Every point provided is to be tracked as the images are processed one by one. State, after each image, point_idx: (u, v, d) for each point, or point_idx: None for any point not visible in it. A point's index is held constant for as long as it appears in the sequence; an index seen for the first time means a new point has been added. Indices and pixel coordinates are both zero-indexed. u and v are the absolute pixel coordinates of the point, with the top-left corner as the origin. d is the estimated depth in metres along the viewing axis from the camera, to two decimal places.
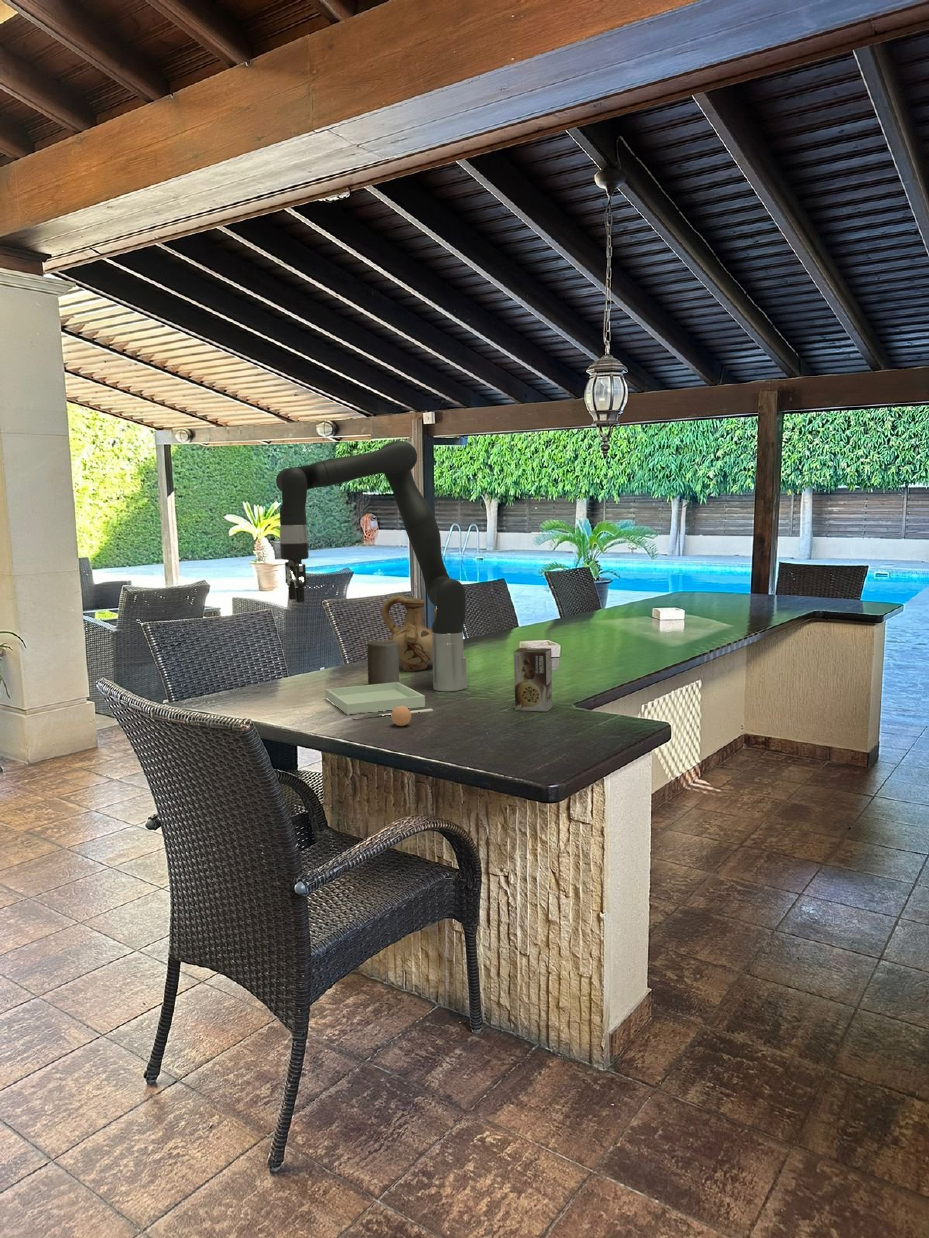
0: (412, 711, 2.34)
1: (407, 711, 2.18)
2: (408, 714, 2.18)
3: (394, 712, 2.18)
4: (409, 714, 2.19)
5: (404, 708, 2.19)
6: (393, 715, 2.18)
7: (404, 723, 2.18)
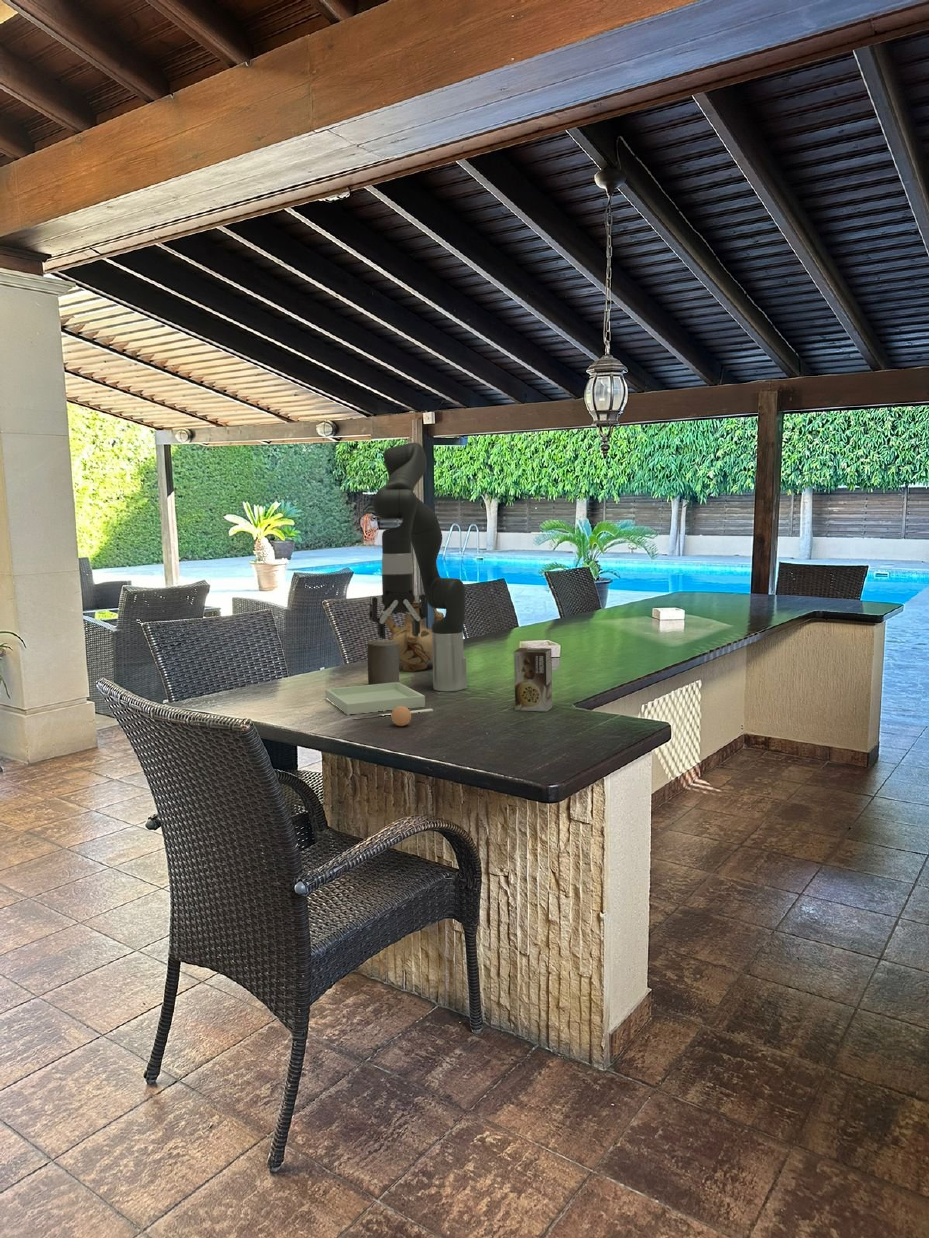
0: (412, 711, 2.34)
1: (407, 711, 2.18)
2: (408, 714, 2.18)
3: (394, 712, 2.18)
4: (409, 714, 2.19)
5: (404, 708, 2.19)
6: (393, 715, 2.18)
7: (404, 723, 2.18)
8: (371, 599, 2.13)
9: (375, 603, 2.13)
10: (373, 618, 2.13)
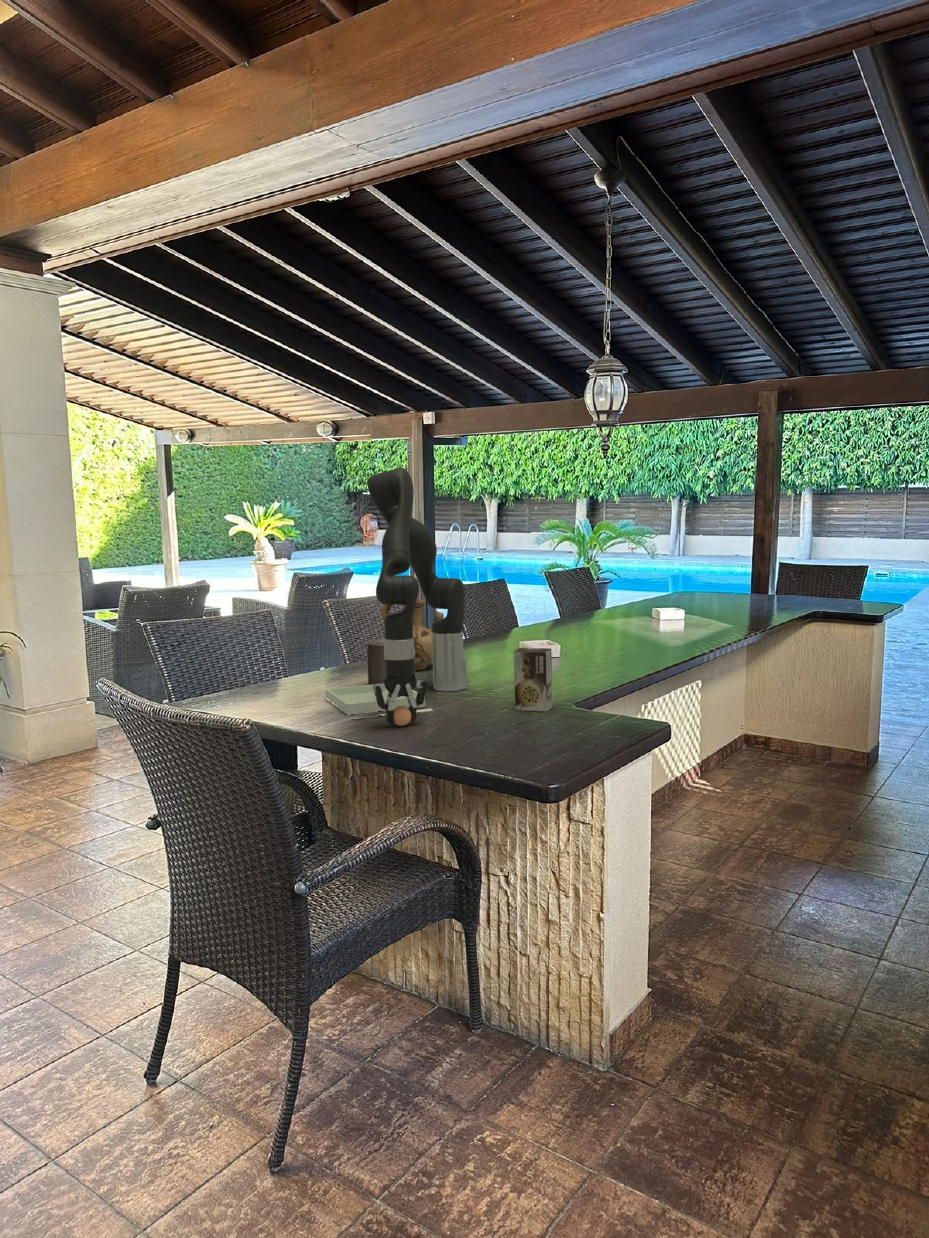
0: None
1: (407, 711, 2.18)
2: (408, 714, 2.18)
3: (394, 712, 2.18)
4: (409, 714, 2.19)
5: (404, 708, 2.19)
6: (393, 715, 2.18)
7: (404, 723, 2.18)
8: (374, 688, 2.16)
9: (379, 691, 2.15)
10: (381, 706, 2.16)
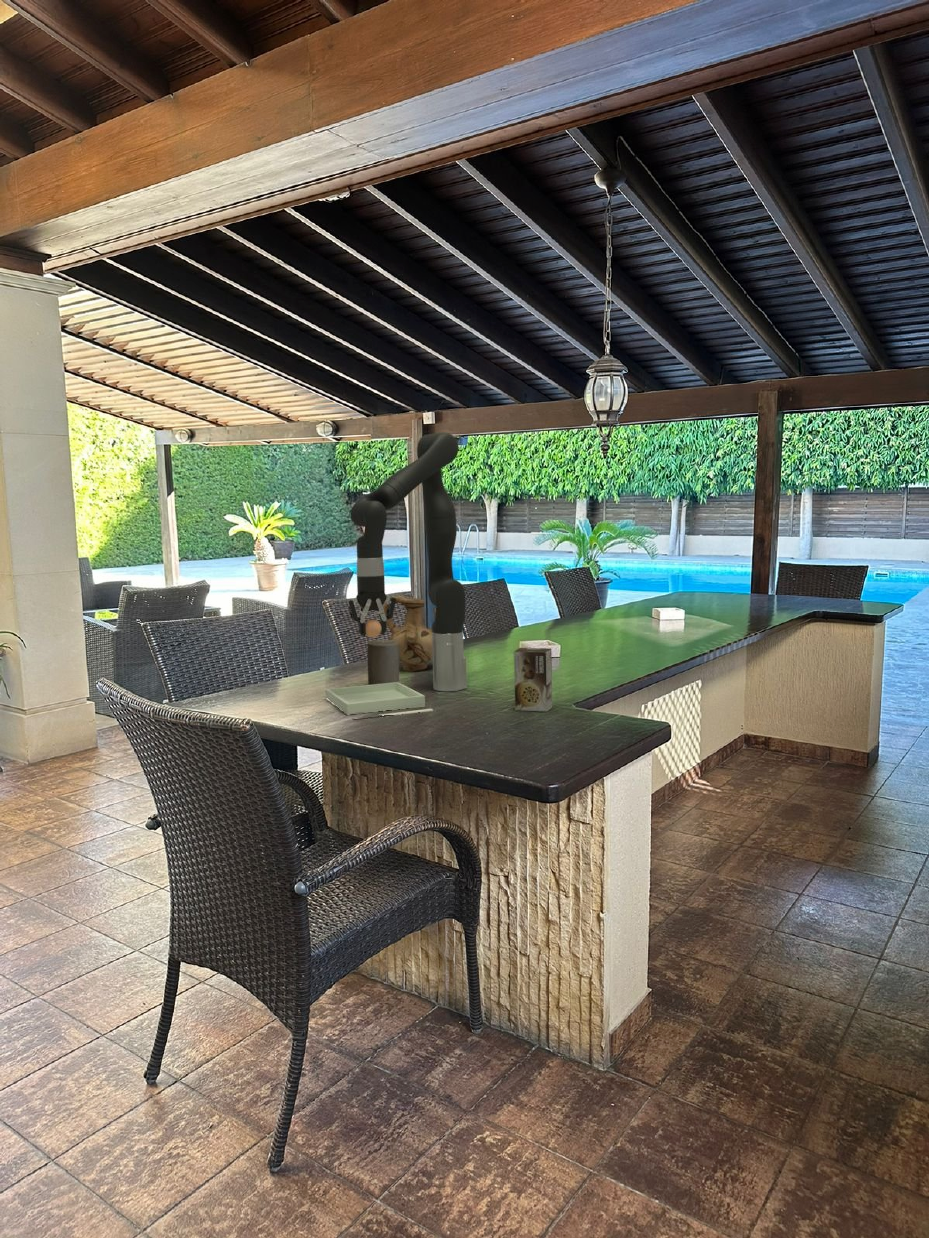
0: (412, 711, 2.34)
1: (378, 624, 2.42)
2: (379, 626, 2.42)
3: (366, 624, 2.42)
4: (379, 626, 2.43)
5: (375, 621, 2.42)
6: (365, 627, 2.42)
7: (375, 634, 2.42)
8: (348, 602, 2.40)
9: (352, 605, 2.39)
10: (354, 618, 2.40)
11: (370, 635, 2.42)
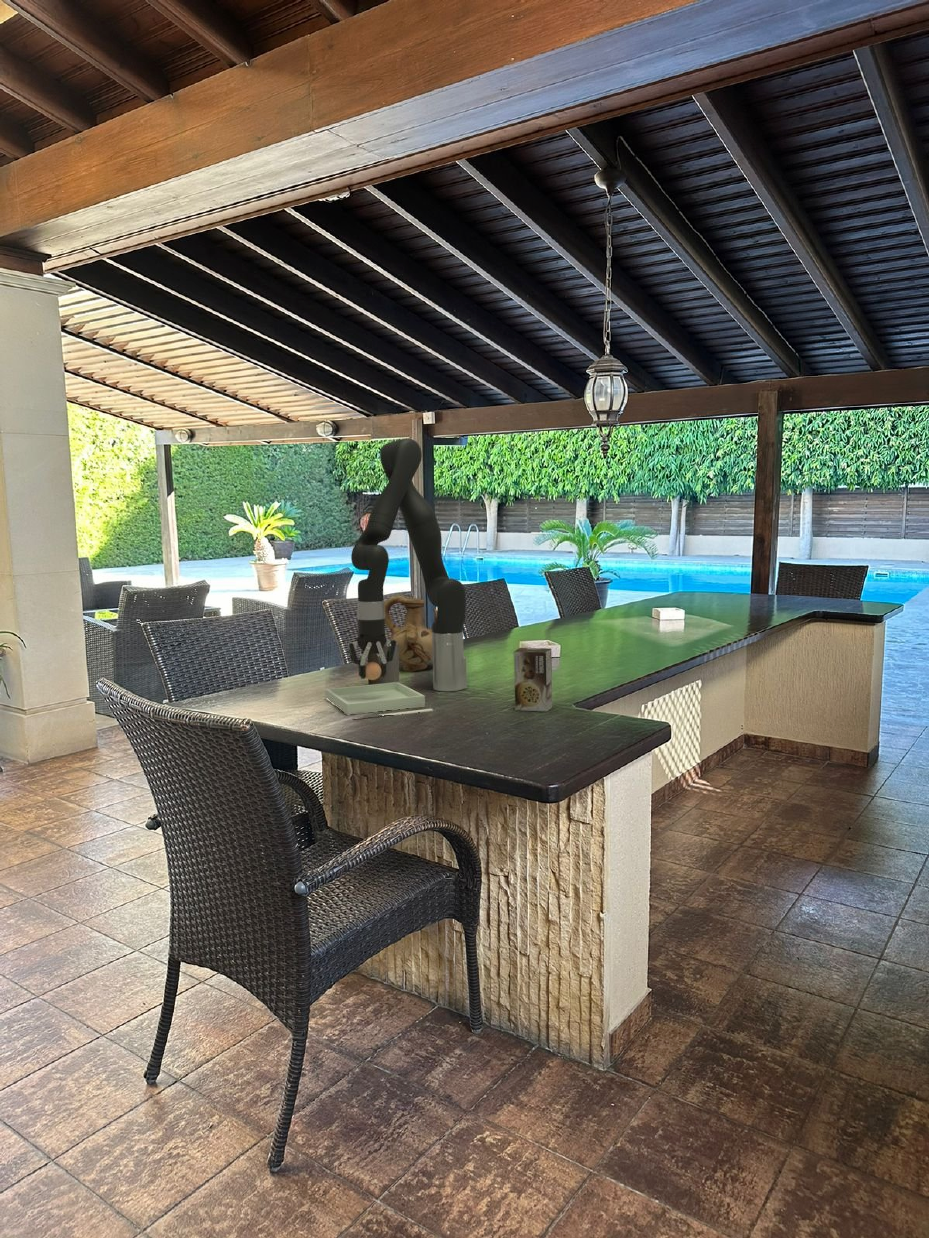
0: (412, 711, 2.34)
1: (377, 666, 2.44)
2: (379, 669, 2.44)
3: (366, 667, 2.44)
4: (379, 669, 2.44)
5: (375, 664, 2.44)
6: (365, 670, 2.44)
7: (375, 677, 2.44)
8: (348, 645, 2.42)
9: (352, 648, 2.41)
10: (354, 661, 2.42)
11: (370, 677, 2.44)
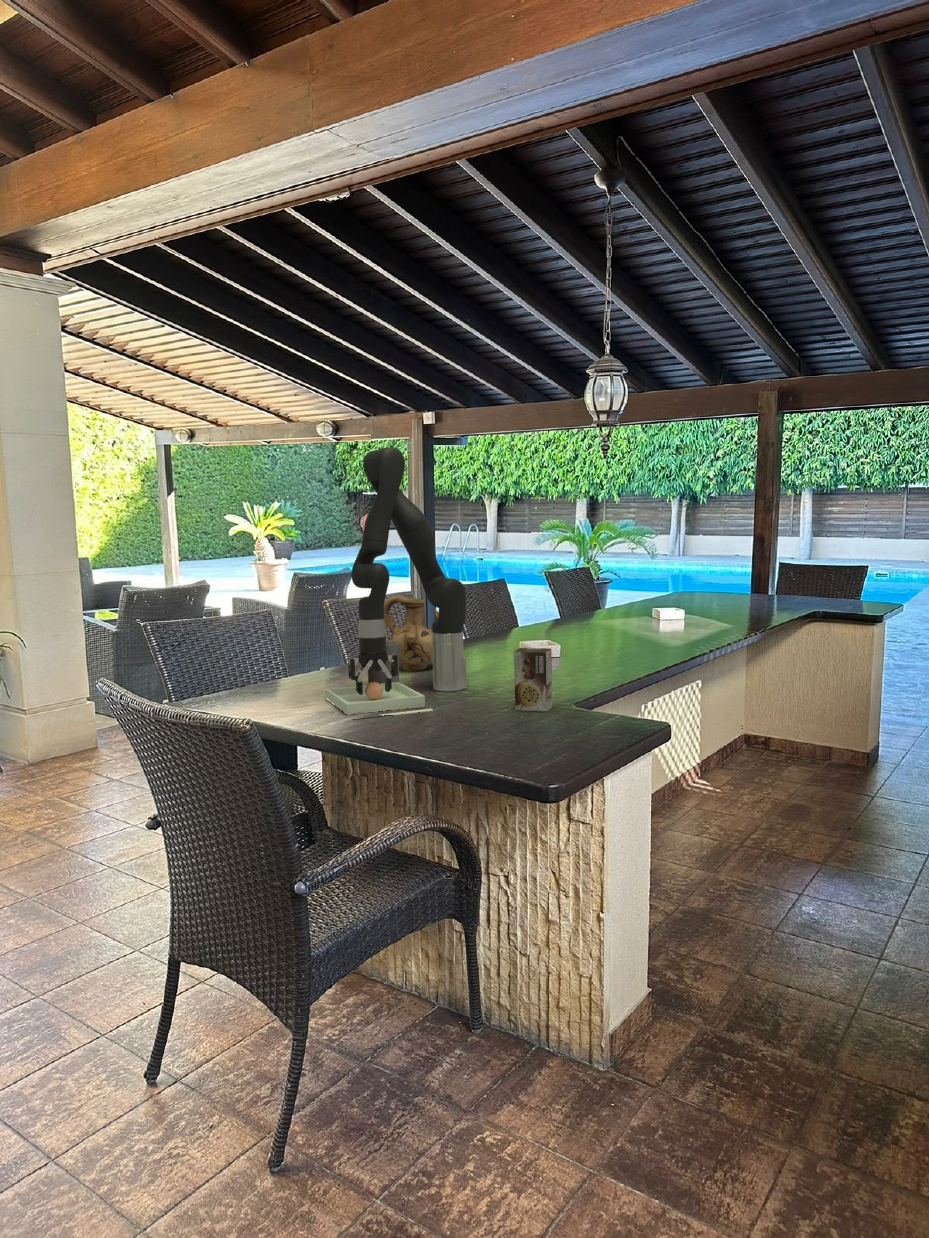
0: (412, 711, 2.34)
1: (379, 686, 2.45)
2: (380, 689, 2.44)
3: (367, 687, 2.44)
4: (381, 689, 2.45)
5: (376, 683, 2.45)
6: (366, 690, 2.44)
7: (376, 697, 2.44)
8: (349, 660, 2.42)
9: (353, 664, 2.41)
10: (352, 677, 2.42)
11: (372, 697, 2.44)
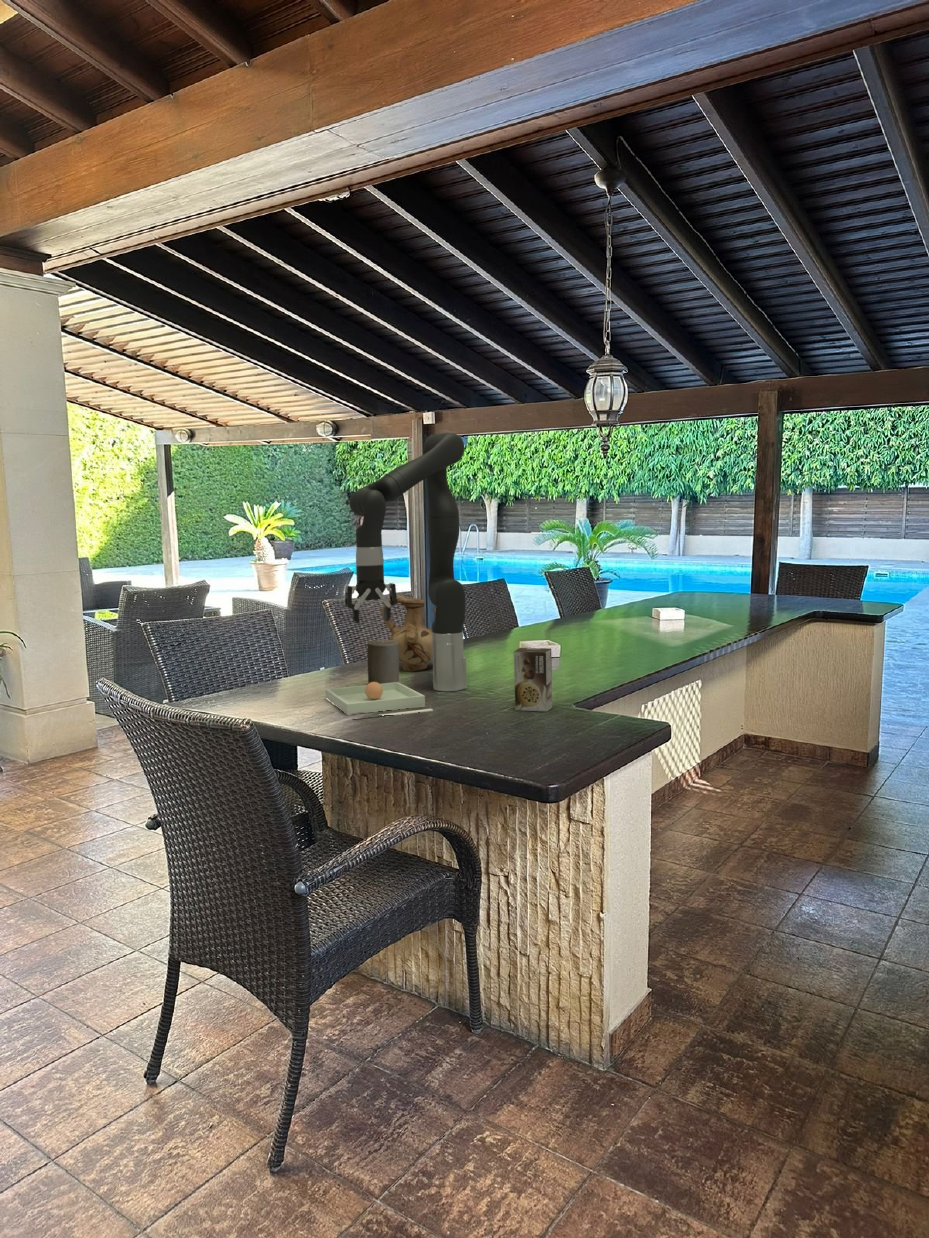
0: (412, 711, 2.34)
1: (379, 686, 2.45)
2: (380, 689, 2.44)
3: (367, 687, 2.44)
4: (381, 689, 2.45)
5: (376, 684, 2.45)
6: (366, 690, 2.44)
7: (376, 697, 2.44)
8: (346, 588, 2.39)
9: (350, 591, 2.39)
10: (348, 605, 2.39)
11: (371, 697, 2.44)
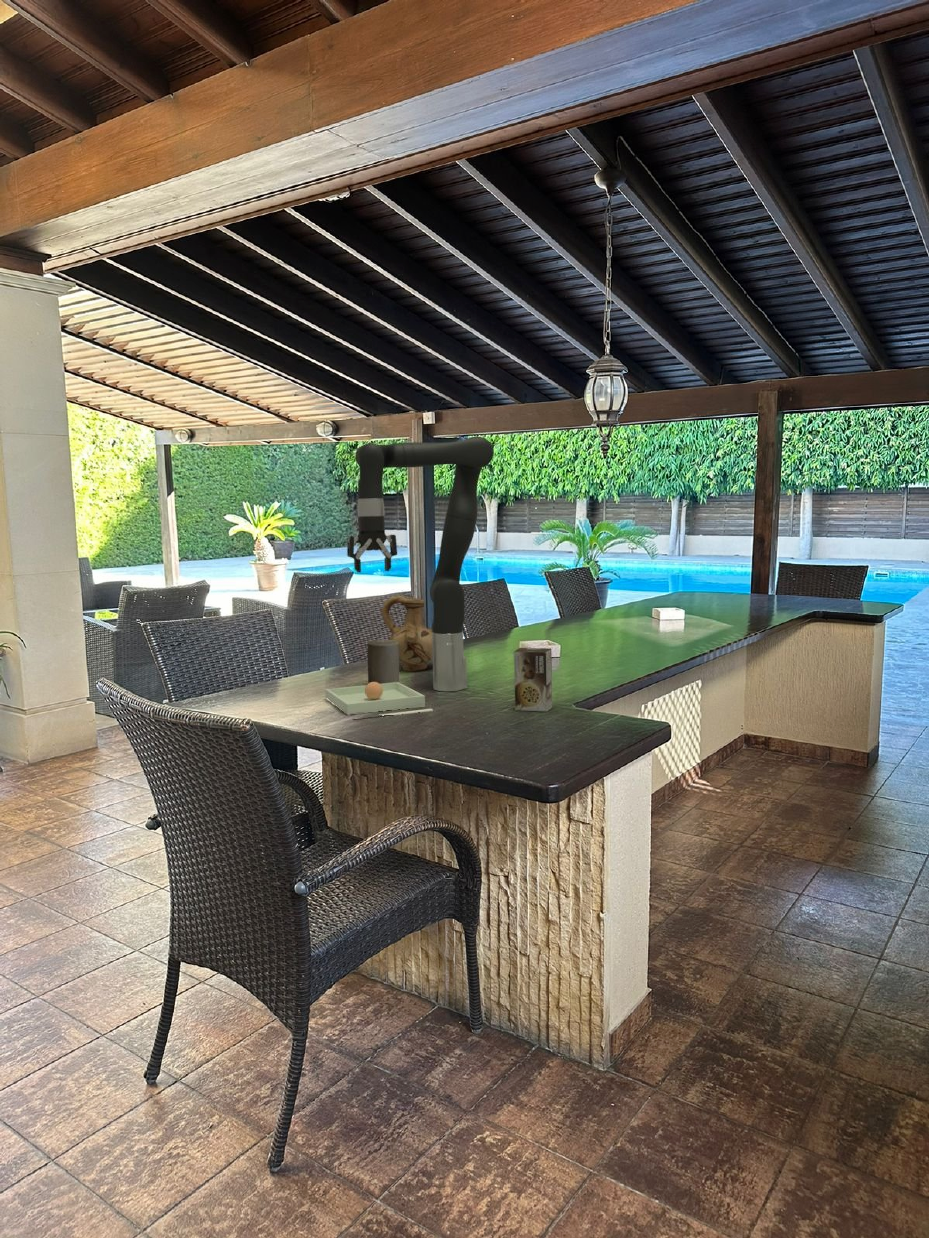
0: (412, 711, 2.34)
1: (379, 686, 2.45)
2: (380, 689, 2.44)
3: (367, 687, 2.44)
4: (381, 689, 2.45)
5: (376, 684, 2.45)
6: (366, 690, 2.44)
7: (376, 697, 2.44)
8: (348, 538, 2.48)
9: (352, 541, 2.48)
10: (350, 554, 2.48)
11: (371, 698, 2.44)
